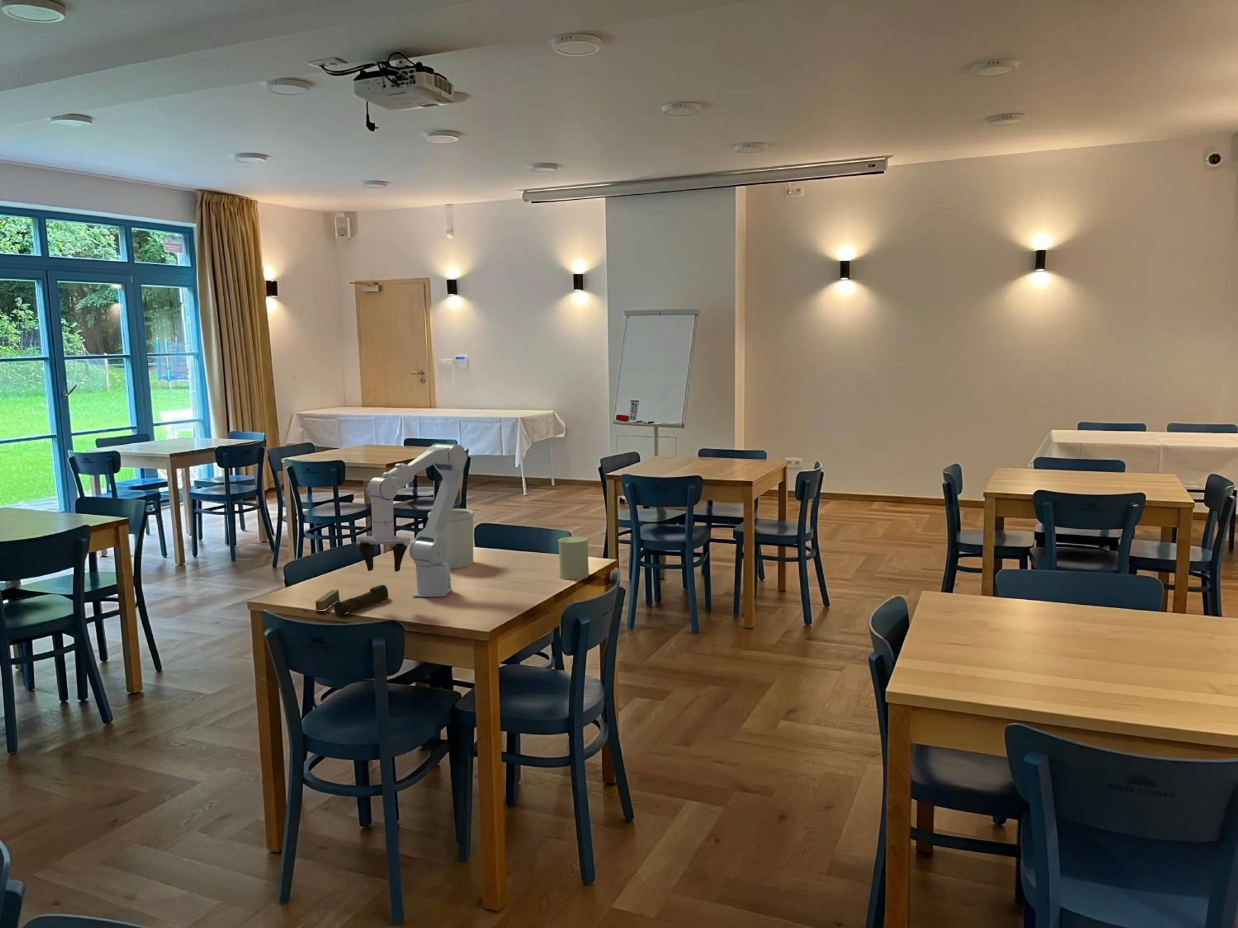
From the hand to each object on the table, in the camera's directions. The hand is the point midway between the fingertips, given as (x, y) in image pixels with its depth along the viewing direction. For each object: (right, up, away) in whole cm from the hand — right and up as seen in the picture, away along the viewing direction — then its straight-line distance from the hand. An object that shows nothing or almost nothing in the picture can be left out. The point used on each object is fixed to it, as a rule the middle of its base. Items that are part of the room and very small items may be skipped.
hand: (383, 570), depth 245 cm
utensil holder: (+9, -4, +51) cm, 52 cm away
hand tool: (-6, -11, +2) cm, 13 cm away
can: (+51, -6, +31) cm, 59 cm away
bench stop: (-16, -10, +3) cm, 20 cm away
